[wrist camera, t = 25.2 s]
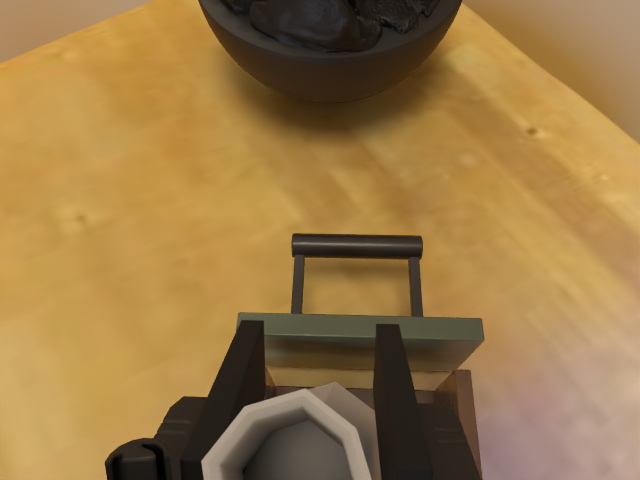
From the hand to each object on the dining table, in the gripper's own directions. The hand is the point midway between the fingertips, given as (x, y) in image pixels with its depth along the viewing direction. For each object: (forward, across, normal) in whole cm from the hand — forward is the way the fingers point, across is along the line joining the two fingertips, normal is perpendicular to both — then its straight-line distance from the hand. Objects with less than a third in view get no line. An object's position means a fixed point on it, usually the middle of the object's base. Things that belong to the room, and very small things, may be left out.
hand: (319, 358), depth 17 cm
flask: (0, 0, +5) cm, 5 cm away
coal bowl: (+33, +1, -10) cm, 34 cm away
